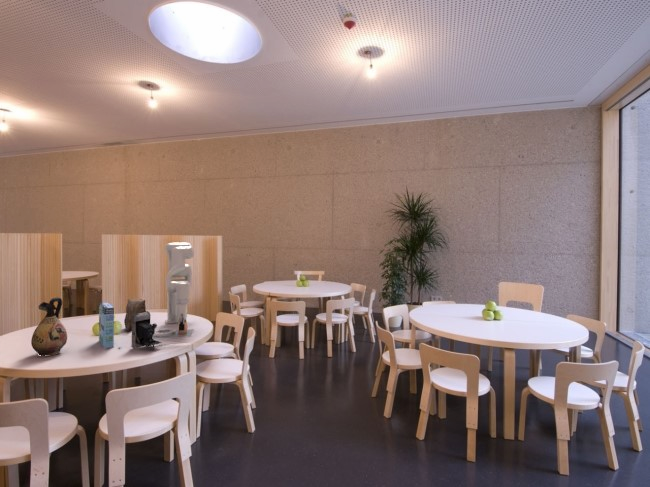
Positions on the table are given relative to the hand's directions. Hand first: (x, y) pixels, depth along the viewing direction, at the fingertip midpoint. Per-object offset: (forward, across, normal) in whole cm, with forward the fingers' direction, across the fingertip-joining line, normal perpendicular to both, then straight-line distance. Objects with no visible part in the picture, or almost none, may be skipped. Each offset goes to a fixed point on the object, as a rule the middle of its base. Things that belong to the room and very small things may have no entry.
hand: (182, 328), depth 232 cm
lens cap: (+3, 0, 0) cm, 3 cm away
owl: (+5, -24, -35) cm, 43 cm away
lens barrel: (+3, 0, -11) cm, 11 cm away
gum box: (+5, +9, -41) cm, 42 cm away
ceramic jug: (+5, +21, -64) cm, 67 cm away
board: (+5, 0, -6) cm, 8 cm away
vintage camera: (+5, +23, -16) cm, 28 cm away
